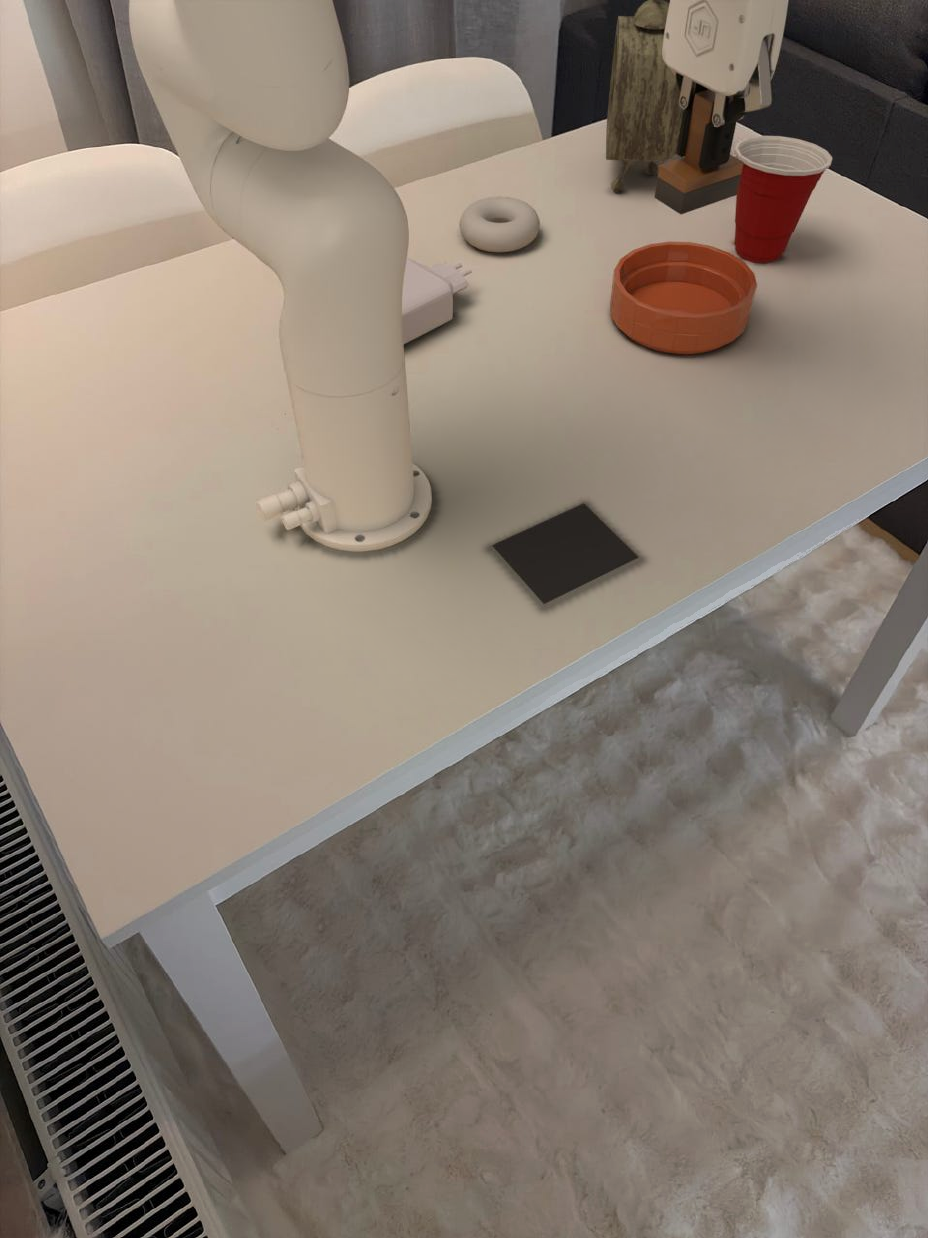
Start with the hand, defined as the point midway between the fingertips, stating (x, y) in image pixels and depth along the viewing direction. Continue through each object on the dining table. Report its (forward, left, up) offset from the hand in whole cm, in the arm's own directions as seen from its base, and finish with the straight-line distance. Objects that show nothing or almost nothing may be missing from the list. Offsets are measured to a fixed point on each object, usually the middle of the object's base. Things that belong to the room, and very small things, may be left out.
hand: (702, 157), depth 86 cm
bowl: (+3, +2, -19) cm, 20 cm away
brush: (0, 0, -4) cm, 4 cm away
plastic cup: (+21, +8, -19) cm, 30 cm away
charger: (-21, +19, -19) cm, 35 cm away
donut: (-4, +28, -19) cm, 35 cm away
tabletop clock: (+21, +32, -19) cm, 43 cm away
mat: (-29, -21, -19) cm, 41 cm away
